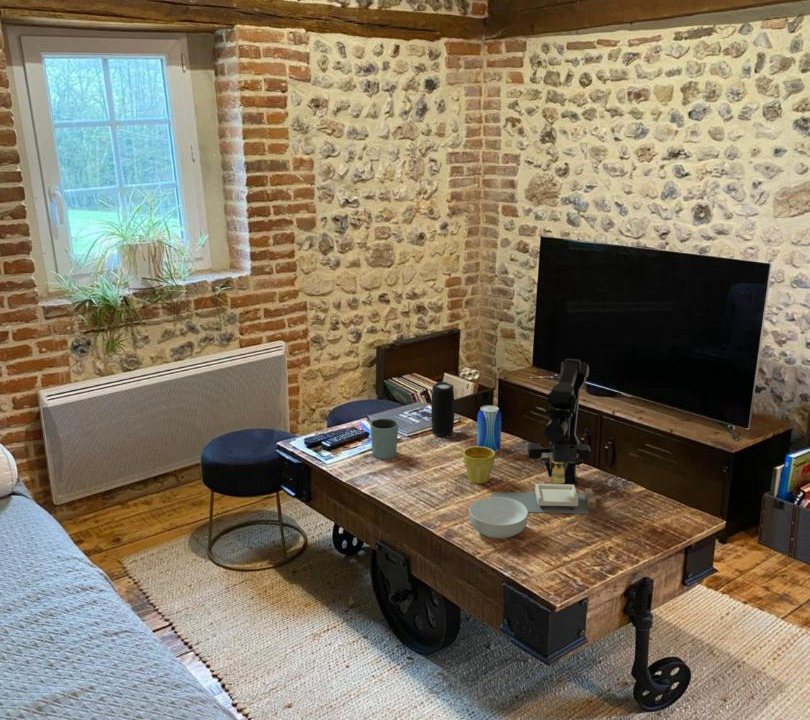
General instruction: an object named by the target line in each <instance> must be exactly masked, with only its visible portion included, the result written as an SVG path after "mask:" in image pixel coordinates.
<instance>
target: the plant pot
mask: <svg viewBox="0 0 810 720" xmlns="http://www.w3.org/2000/svg"><path fill="white" fill-rule="evenodd" d="M462 454H463V455H462V457H463V459H462V460H463V463H464V465H465V467H466V468H465V469H466V473H467V478H468V481H470V482H471V483H473V484H478V485H479V484H480V485H481V484H485V483H488V482H489V480H490V476H491V472H492V468H493V465H494V464H495V462H496V461H495V460H496V453H495V452H494V451H493V450H492V449H490V448H487V447H481V446H477V445H475V446H470V447H467V448H465V449H464V450H463V453H462Z"/></svg>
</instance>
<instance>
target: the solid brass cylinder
mask: <svg viewBox="0 0 810 720" xmlns="http://www.w3.org/2000/svg"><path fill="white" fill-rule="evenodd" d="M565 468H566V463H565V462H555V461H554V460H553V459H552V461H551V460H550V469H551V477H549V481H550V482H551V484H552V483H553V484H565V483H564V482H565Z"/></svg>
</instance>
